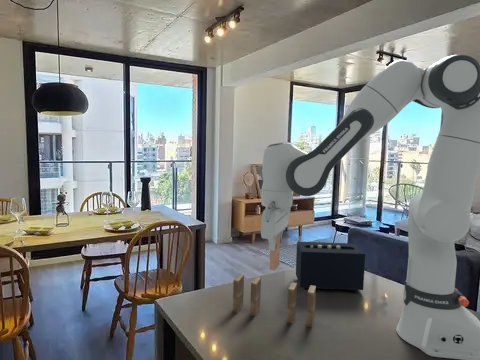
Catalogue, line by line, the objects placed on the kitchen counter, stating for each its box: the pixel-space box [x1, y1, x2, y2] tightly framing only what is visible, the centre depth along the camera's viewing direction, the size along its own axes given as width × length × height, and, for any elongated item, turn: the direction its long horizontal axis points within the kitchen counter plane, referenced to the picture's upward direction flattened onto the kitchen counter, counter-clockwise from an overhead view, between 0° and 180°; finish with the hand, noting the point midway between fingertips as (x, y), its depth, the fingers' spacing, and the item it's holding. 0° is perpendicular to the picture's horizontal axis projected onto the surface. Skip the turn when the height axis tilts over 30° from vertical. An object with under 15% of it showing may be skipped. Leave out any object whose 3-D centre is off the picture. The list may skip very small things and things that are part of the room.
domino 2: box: [249, 276, 262, 317], centre depth 103 cm, size 2×5×10 cm, turn 161°
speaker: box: [295, 241, 366, 293], centre depth 124 cm, size 22×13×15 cm, turn 88°
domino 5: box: [305, 285, 317, 328], centre depth 98 cm, size 2×5×10 cm, turn 161°
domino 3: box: [269, 233, 281, 271], centre depth 100 cm, size 2×5×10 cm, turn 161°
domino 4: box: [286, 282, 298, 324], centre depth 100 cm, size 2×5×10 cm, turn 161°
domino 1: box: [232, 274, 245, 314], centre depth 105 cm, size 2×5×10 cm, turn 161°
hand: (275, 246), depth 100 cm, fingers closed on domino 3, 5 cm apart
